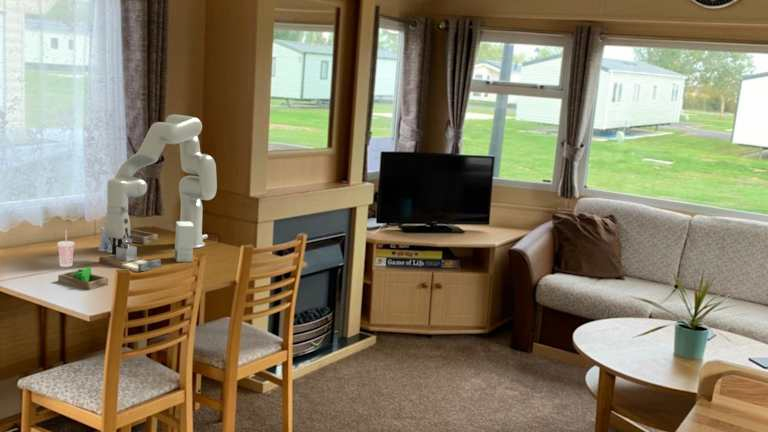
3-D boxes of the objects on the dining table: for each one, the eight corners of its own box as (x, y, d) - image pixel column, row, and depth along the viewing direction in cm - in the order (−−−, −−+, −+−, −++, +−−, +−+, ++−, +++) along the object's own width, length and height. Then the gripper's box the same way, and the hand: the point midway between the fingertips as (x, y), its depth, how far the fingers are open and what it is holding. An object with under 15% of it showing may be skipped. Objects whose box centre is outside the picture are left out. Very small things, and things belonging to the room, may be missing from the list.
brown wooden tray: (76, 276, 283) (76, 270, 283) (107, 284, 277) (108, 278, 276) (58, 281, 275) (58, 275, 275) (89, 289, 269) (89, 283, 269)
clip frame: (130, 235, 353) (130, 228, 353) (157, 241, 347) (157, 234, 346) (116, 238, 346) (116, 231, 345) (144, 244, 339) (144, 237, 338)
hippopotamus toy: (122, 255, 319) (123, 232, 317) (92, 250, 323) (92, 228, 321) (137, 249, 329) (138, 228, 327) (108, 245, 333) (108, 223, 331)
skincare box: (174, 257, 321) (175, 221, 318) (190, 256, 324) (191, 221, 321) (177, 262, 314) (178, 225, 311) (193, 261, 316) (194, 225, 314)
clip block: (126, 256, 309) (126, 242, 307) (136, 259, 306) (136, 244, 305) (116, 259, 304) (116, 244, 303) (126, 261, 301) (126, 246, 300)
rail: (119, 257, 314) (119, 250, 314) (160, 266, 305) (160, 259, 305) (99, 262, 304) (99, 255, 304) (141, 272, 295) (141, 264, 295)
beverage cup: (58, 267, 293) (58, 232, 290) (57, 263, 298) (56, 228, 296) (75, 266, 296) (75, 231, 293) (73, 262, 301) (73, 228, 299)
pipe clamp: (80, 278, 281) (80, 266, 280) (91, 278, 282) (91, 266, 281) (73, 287, 270) (73, 275, 269) (84, 288, 271) (84, 275, 270)
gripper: (138, 211, 304) (137, 256, 307) (110, 206, 310) (109, 249, 314) (124, 213, 297) (123, 259, 301) (96, 208, 304) (95, 252, 307)
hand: (116, 254), depth 307 cm, fingers closed
